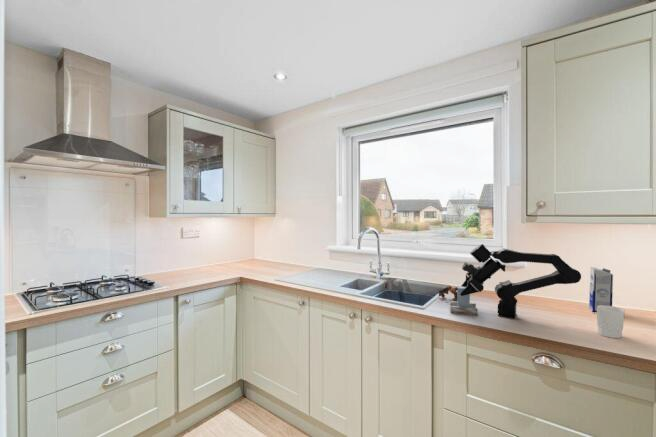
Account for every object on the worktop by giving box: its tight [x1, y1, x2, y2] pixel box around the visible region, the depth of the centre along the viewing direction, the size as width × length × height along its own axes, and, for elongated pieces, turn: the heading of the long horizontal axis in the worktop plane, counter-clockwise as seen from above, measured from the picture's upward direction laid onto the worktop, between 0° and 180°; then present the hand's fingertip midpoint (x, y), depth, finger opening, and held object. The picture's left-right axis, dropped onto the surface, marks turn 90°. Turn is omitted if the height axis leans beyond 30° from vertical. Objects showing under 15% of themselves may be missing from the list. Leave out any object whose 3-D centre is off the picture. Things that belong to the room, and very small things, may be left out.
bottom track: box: [449, 300, 478, 316], centre depth 149 cm, size 11×8×3 cm
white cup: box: [596, 305, 626, 339], centre depth 122 cm, size 8×8×10 cm
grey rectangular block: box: [457, 285, 471, 307], centre depth 149 cm, size 5×4×10 cm
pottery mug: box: [437, 285, 458, 302], centre depth 168 cm, size 12×10×8 cm
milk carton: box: [588, 266, 614, 313], centre depth 148 cm, size 7×7×20 cm
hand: (460, 292), depth 149 cm, fingers open, 9 cm apart
